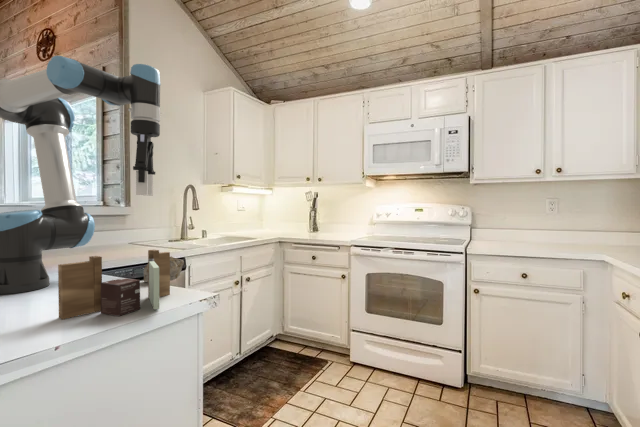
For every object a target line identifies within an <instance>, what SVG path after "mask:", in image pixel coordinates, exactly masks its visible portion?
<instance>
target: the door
mask: <svg viewBox="0 0 640 427" xmlns="http://www.w3.org/2000/svg"><path fill="white" fill-rule="evenodd" d="M148 301H149V302H150V304H151V306H152V309H153V310H159V309H160V297H159V267H158V265H157V264H156V263H155V262H154V259H149V297H148Z"/></svg>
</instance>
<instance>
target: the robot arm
mask: <svg viewBox="0 0 640 427" xmlns="http://www.w3.org/2000/svg"><path fill="white" fill-rule="evenodd" d="M129 73H130V75H125V76H119V75H115V74H112V73H109V72H107V71H105V70H102V69H99V68H96V67H94V66H91V65H88V64H85V63H84V62H81V61H78V60H76V59H73V58H71V57H70V58H69V57H66V56H64V55H63V56H62V55H54V56H52V57H51V59H50V60H49V61H48V63H47V64H46V68H45V69H42V70H39V71H36V72H33V73H30V74H26V75H24V76H21V77H17V78H15V79H7V78H6V79H5V78H1V79H0V119H2V120H4V121H7V122H11V123H15V124H20V125H24V126H25V129H26V134H27V135H29V136H30V137H32V138H33V143H34V148H35V154H36V159H37V165H38V171H39V176H40V177H39V178H40V182H41V188H42V193H43V194H42V195H43V200H44V206H43V207H42V208H41V209H24V210H22V209H21V210H13V211H4V212H0V295H8V294H19V293H25V292H26V293H27V292H31V291H36V290H41V289H43V288H47V287H49V286H50V276H49V274H48V272H47V269H46V267H45V264H44V262H43V251H51V250H52V251H53V250H59V249H74V248H78V247H83V246H85V245H87V244H89V242H91V240H92V239H93V238H92V237H93V236H94V233H95V227H96V223H95V219H94V217H93V216H92V215H91V214H90V213H88V212H85V210H84V206H83V205H82V204H80V203H79V202H78V201H77V197H76V191H75V184H74V180H73V175H72V174H73V173H72V168H71V164H70V157H69V152H68V147H67V141H66V137H67V136H68V135H69V134H70V131H71V130H72V129H73V127H74V126H75V120H76V117H75V112H74V109H73V107H72V105H71V104H70V103H69V102H68V101H67V100H65V99H64V97H68V96H72V95H75V94H76V95H77V94H83V95H88V96H90V97H91V96H92V97H94V98H98V99H101V100H102V102H103V101H104V103H106V104H108V105H110V106H118V107H119V106H124V105H130V107H129V108H128V112H130V119H131V121H130V134H132V135H133V136H136V137H137V138H136V154H135V164H134V166H132V169H133V171H136V172H135V175H136V176H135V178H136V179H135V196H153V195H154V194H153V193H154V191H153V190H154V189H153V188H154V186H153V185H154V176H155V175H156V171H154V158H153V156H154V145H155V144H154V142H153V141H152V138H158V137H160V134H161V125H160V123H159V122H161V85H162V84H161V74H160V71H159V69H157V68H156V67H154V66H151V65H149V64H143V63H135V64H132V66H131V67H130V71H129Z"/></svg>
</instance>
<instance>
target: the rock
mask: <svg viewBox="0 0 640 427" xmlns="http://www.w3.org/2000/svg"><path fill="white" fill-rule="evenodd" d="M184 265H185V261H184V259H180V258H175V257H173V256H172V255H170V282H171V281H174V280H176V279H178V278H179V277H180V276H181V272H182V269H183V266H184ZM143 282H144V283H148V263H147V264H146V266H144V268H143Z"/></svg>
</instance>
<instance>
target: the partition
mask: <svg viewBox="0 0 640 427" xmlns="http://www.w3.org/2000/svg"><path fill="white" fill-rule="evenodd" d="M170 254H171V253H170V252H169V251H164V252H163V251H161V252H160V249H148V250H147V257H148V258H147V264H148V282H147V283H148V284H147V286H148V287H147V288H148V289H147V290H148V291H147V292H148V293H147V295H148V298H149V259H154V262H155V263H156V264H157V265H158V267H159V298H160V297H161V298H162V297H165V296H169V295H171V281H170V256H171V255H170ZM102 258H103V257H102V256H99V255H93V256H92V255H91V256H88V260H86V261H79V262H78V261H77V262H70V263H61V264H58V265H57V275H58V276H57V277H58V278H57V282H58V286H57V287H58V318H59V319H60V318H61V319H60V320H67V319H70V317H71V318H74V316H75V317H79V316H78V315H80V316H84V315H88V314H92V312H93V313H97V312H98V313H99V312H101V283H102V282H103V269H102V268H103V262H102V261H103V260H102ZM83 314H84V315H83ZM66 318H67V319H66Z"/></svg>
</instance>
